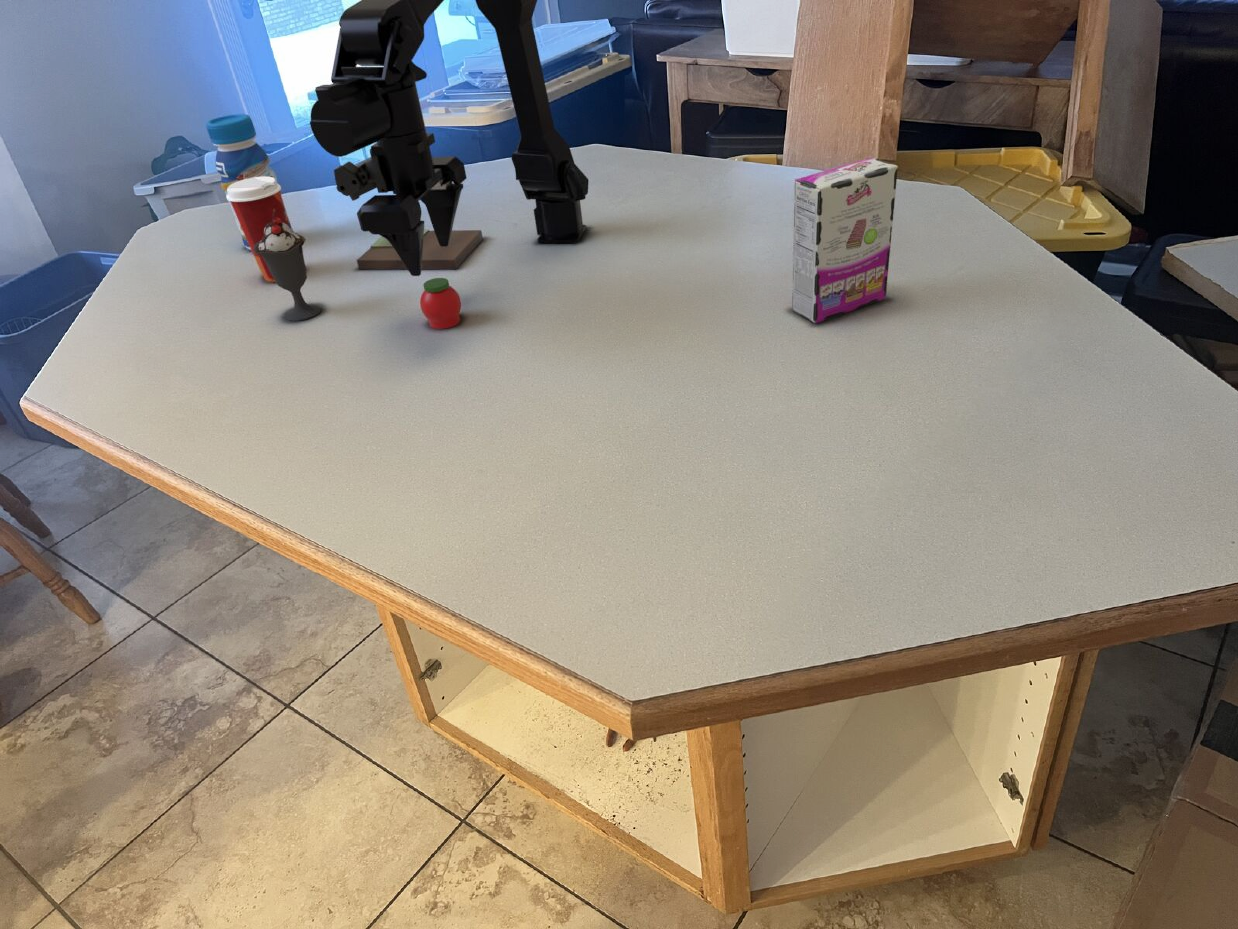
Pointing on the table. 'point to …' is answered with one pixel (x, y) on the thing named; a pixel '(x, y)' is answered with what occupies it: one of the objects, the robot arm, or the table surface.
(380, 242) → the board
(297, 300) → the sundae
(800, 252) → the candy bar box
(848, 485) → the table surface
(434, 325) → the red rounded piece
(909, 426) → the table surface
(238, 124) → the beverage bottle
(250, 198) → the paper cup
